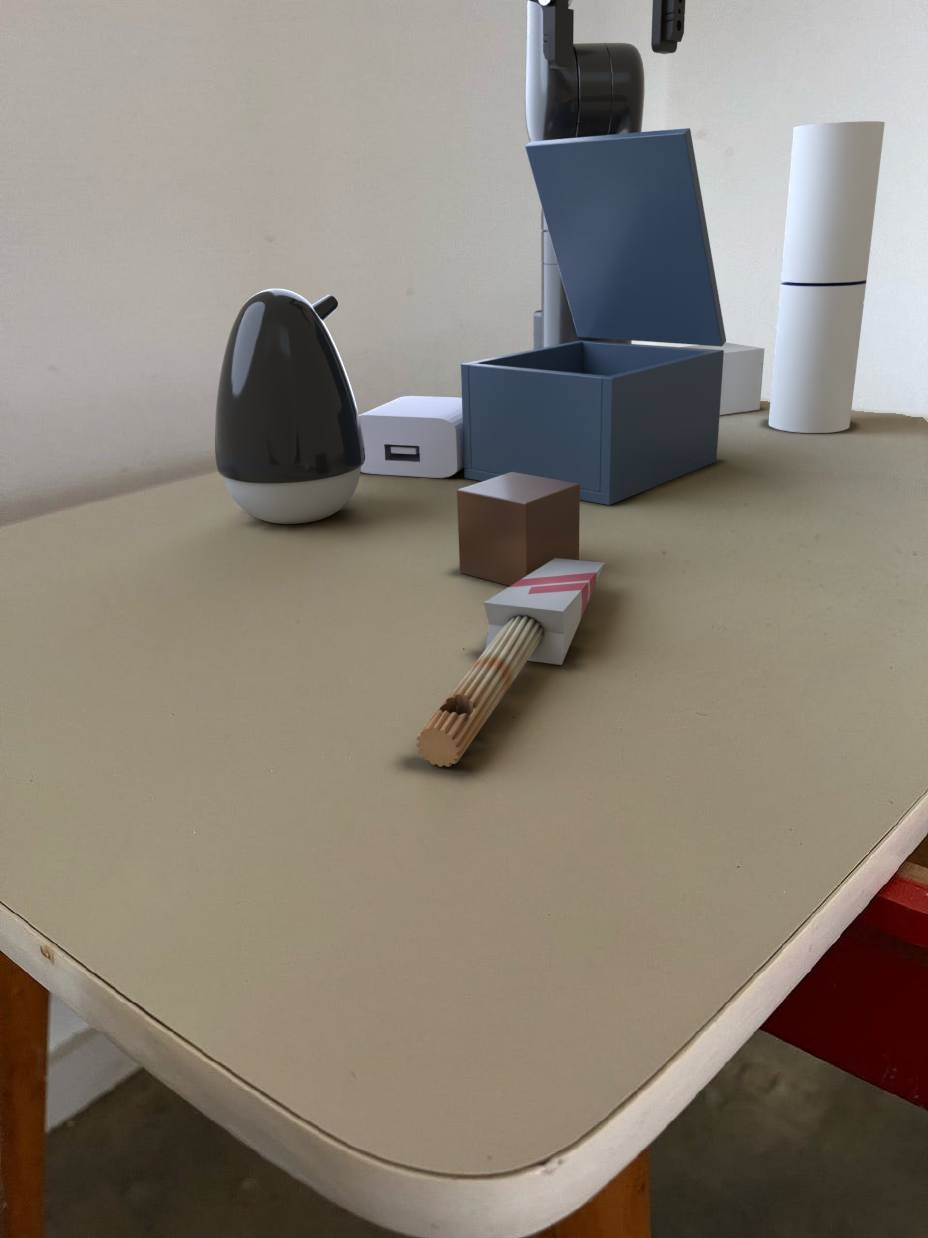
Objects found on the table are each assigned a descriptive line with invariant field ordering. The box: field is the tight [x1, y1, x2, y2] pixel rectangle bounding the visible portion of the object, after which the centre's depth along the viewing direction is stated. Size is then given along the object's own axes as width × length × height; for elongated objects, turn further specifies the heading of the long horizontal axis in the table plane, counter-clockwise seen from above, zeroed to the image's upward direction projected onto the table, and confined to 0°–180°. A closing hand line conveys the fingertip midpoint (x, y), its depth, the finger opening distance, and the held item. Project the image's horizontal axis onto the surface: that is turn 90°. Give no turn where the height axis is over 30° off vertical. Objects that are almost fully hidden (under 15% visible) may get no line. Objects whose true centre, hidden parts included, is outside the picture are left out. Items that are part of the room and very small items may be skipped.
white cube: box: [684, 341, 765, 416], centre depth 100 cm, size 6×6×6 cm
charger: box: [358, 395, 464, 479], centre depth 85 cm, size 5×9×15 cm
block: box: [456, 472, 581, 587], centre depth 57 cm, size 5×5×5 cm
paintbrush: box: [415, 558, 605, 768], centre depth 46 cm, size 4×3×20 cm
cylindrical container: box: [768, 120, 886, 434], centre depth 87 cm, size 7×7×25 cm
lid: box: [524, 127, 727, 346], centre depth 77 cm, size 16×14×5 cm
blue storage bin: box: [460, 340, 724, 506], centre depth 78 cm, size 16×14×9 cm
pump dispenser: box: [214, 288, 365, 525], centre depth 68 cm, size 10×10×15 cm
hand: (609, 60), depth 69 cm, fingers open, 8 cm apart
